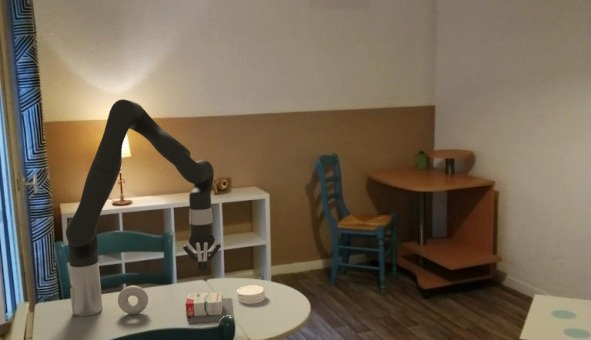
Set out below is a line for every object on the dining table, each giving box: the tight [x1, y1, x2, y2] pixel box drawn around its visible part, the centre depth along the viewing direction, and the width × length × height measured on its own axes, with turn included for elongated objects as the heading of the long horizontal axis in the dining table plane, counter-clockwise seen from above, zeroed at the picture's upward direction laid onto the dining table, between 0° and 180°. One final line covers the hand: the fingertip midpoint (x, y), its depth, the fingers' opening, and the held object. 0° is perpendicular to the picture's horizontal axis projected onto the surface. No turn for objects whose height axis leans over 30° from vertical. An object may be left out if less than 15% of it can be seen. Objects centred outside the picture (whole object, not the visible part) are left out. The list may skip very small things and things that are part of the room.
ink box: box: [185, 291, 224, 318], centre depth 190 cm, size 9×5×12 cm
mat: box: [189, 297, 234, 325], centre depth 191 cm, size 14×18×1 cm
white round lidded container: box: [236, 284, 266, 305], centre depth 201 cm, size 10×10×4 cm
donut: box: [117, 284, 149, 315], centre depth 190 cm, size 10×3×10 cm, turn 94°
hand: (203, 271), depth 189 cm, fingers closed
